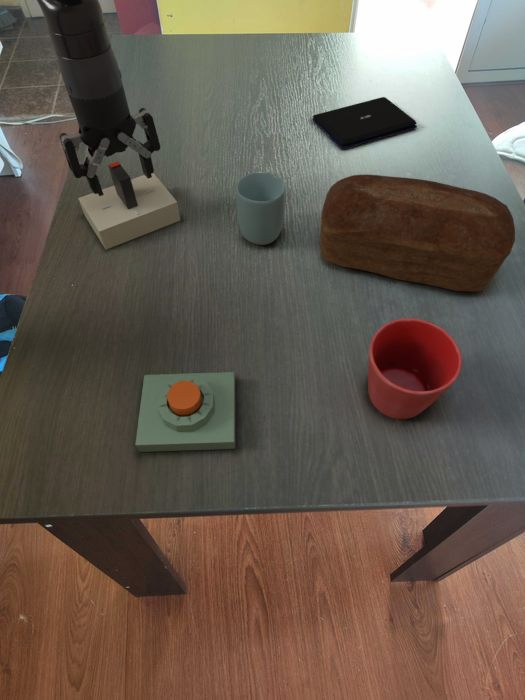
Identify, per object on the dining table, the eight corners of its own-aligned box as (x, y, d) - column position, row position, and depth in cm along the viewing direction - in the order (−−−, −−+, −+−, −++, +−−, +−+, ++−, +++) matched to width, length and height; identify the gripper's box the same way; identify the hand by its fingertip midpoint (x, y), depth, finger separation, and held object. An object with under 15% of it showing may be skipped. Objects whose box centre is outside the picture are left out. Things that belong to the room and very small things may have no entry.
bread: (489, 307, 71) (526, 247, 61) (309, 269, 76) (317, 207, 65) (491, 247, 78) (525, 184, 68) (328, 215, 83) (337, 152, 73)
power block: (139, 452, 58) (131, 439, 54) (147, 382, 63) (141, 367, 60) (235, 449, 58) (233, 435, 55) (235, 380, 64) (233, 364, 60)
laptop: (306, 112, 103) (307, 103, 101) (389, 99, 106) (391, 90, 104) (332, 153, 94) (334, 143, 92) (422, 137, 97) (425, 128, 95)
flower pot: (339, 386, 63) (350, 345, 55) (397, 348, 67) (415, 304, 59) (394, 446, 58) (415, 410, 50) (454, 401, 62) (482, 361, 54)
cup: (274, 256, 77) (276, 207, 69) (231, 245, 79) (227, 195, 71) (289, 226, 81) (292, 177, 73) (248, 216, 83) (246, 166, 75)
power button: (168, 416, 57) (165, 409, 55) (170, 387, 59) (168, 380, 57) (201, 415, 57) (199, 408, 55) (202, 386, 59) (200, 379, 57)
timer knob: (138, 205, 78) (130, 176, 74) (128, 209, 78) (119, 179, 73) (126, 190, 81) (118, 160, 76) (116, 193, 80) (107, 163, 76)
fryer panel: (105, 249, 78) (98, 230, 75) (85, 216, 83) (77, 197, 80) (180, 220, 82) (177, 201, 79) (157, 190, 87) (152, 171, 84)
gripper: (131, 58, 67) (153, 159, 81) (34, 85, 63) (75, 187, 77) (152, 80, 64) (172, 182, 77) (51, 110, 60) (90, 212, 73)
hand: (124, 184), depth 77 cm, fingers open, 8 cm apart
